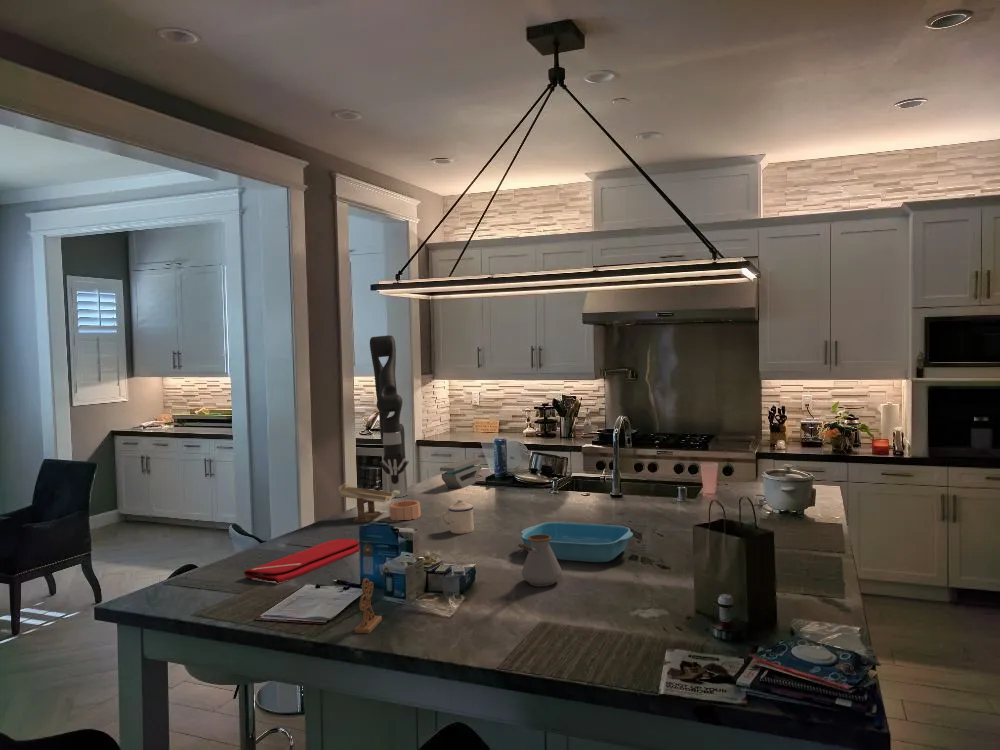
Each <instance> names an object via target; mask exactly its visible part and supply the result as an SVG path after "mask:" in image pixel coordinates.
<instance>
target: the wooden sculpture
mask: <svg viewBox="0 0 1000 750" xmlns="http://www.w3.org/2000/svg"><path fill="white" fill-rule="evenodd" d="M361 590H362V591H361V592H362V595H361V596H360V599H359V604H358V605H359V607H358V608H359V611H361V612H362V611H363V614H362V620H361V622H360V623H359V624H358V625H357V626H356V627H355V628H354V633H355V634H370V633H371V632H372V631H373V630H374V629H375V628H376V627H377V626H378V624H379V623H381V622H382V620H383V618H382V615H375V612H374V610H373V607H372V603H371V601H372V600H371V597H372V596H373V593H374V582H373V581H370V579H369V578H367V577H366V578H363V580H362V582H361ZM364 599H365V600H364ZM367 609H368V610H367Z"/></svg>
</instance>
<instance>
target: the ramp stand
mask: <svg viewBox="0 0 1000 750" xmlns="http://www.w3.org/2000/svg"><path fill="white" fill-rule="evenodd" d="M356 507H357V508H356V509H357V517H355V518H353V519H352V523H369V522H370V521H371V520H373V519H375V518H376V517H377V516H380V514H381V510H380V511H378V510H377V511H376V506H375V501H369V500H367V511H365V500H364V498H363V497H362V498H357V499H356Z"/></svg>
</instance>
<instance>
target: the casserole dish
mask: <svg viewBox="0 0 1000 750" xmlns="http://www.w3.org/2000/svg"><path fill="white" fill-rule="evenodd" d="M520 534H521V539H522V542H523V544H524V545H527V546H529V547H531V542H530V540H529V539H528V537H529V536H533V535H539V534H544V535H549V536H551V539H550V541H549V545H550V547H551V549H552V551H553V553H554V555H555V557H556V559H557V560H561V561H572V562H573V561H575V562H589V563H606V562H611V561H612V560H615V559H616V558H617V557H618V556H619V555H620V554H621V553H622V552H624V550H625V549H626V548H627V546H628V542H629V540H630V539H631V538H632V537H633V536H634V533H633V532H632V531H631V528H630V527H627V526H625V525H623V526H622V525H615V524H614V525H613V524H598V523H597V524H596V523H583V522H568V521H567V522H564V521H551V522H548V521H547V522H542V523H540V524H537V525H536V524H535V525H534V526H533V525H531V526H529V527H526V528H524V529H523V530H521V532H520ZM526 551H527V552H528V553H529V550H526Z"/></svg>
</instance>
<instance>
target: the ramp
mask: <svg viewBox="0 0 1000 750" xmlns="http://www.w3.org/2000/svg"><path fill="white" fill-rule="evenodd" d="M349 483H350V482H345V483H343V484H341V485H339V486H338V491H337V492H338V494H337V495H338V497H342V498H348V499H355V500H357V498H362V497H363V498H364V501H368V500H369V501H374V502H376V503H377V502H378V503H383V504H384V503H387V502H388V501H390V500H391V499H394V498H393V497H395V496H397V495H398V494H400V490H395V491H393V492H388V491H385V490H378V489H377V490H376V489H369V488H361V487H354V486H349Z"/></svg>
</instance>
